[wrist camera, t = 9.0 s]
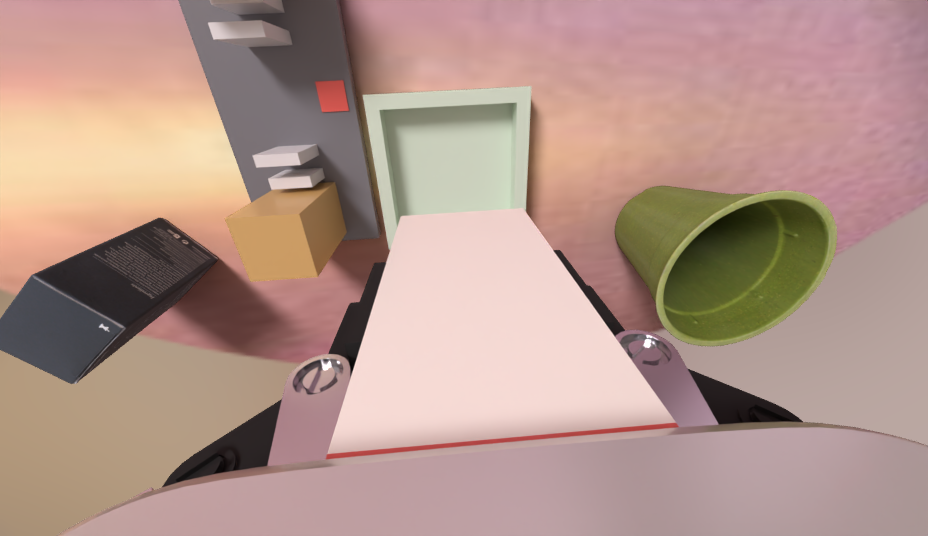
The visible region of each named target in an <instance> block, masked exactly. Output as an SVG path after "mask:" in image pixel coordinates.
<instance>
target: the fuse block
mask: <svg viewBox="0 0 928 536" xmlns="http://www.w3.org/2000/svg"><path fill="white" fill-rule="evenodd" d="M178 1H179V3H180V6H181V9H182V12H183V14H184V17H185V20H186V23H187V26H188V28H189V31H190V34H191V37H192V39H193V42H194V45H195V48H196V50H197V53H198V56H199V59H200V62H201V64H202V67H203V70H204V73H205V75H206V78H207V81H208V84H209V86H210V89H211V92H212V95H213V97H214V100H215V103H216V106H217V109H218V111H219V114H220V117H221V120H222V122H223V125H224V128H225V131H226V133H227V136H228V139H229V142H230V145H231V147H232V150H233V153H234V156H235V158H236V161H237V164H238V167H239V169H240V172H241V175H242V178H243V180H244V183H245V186H246V189H247V192H248V194H249V197H250V200H251V203H250V204H248V205H246V206H245V207H243V208H241V209H240V210H238V211H236V212H235V213H233V214H231V215H230V216H228V217H226V218H225V221H226V223H227V226H228V228H229V231H230V233H231V235H232V238H233V240H234V243H235V245H236V248H237V250H238V252H239V255H240V257H241V260H242V262H243V265H244V267H245V269H246V272H247V274H248V277H249V279H250V282H253V281H267V280H282V279H296V278H310V277H318V276H319V274H320V273H321V271H322V270H323V268H324V267H325V265H326V264H327V262H328V261H329V259H330V257H331V256H332V254H333V253H334V251H335V250H336V248H337V247H338V245H339V244H340V242H341V241H343V240H358V239H373V238H379V237H380V235H381V232H380V226H379V221H378V215H377V209H376V204H375V198H374V193H373V187H372V181H371V176H370V170H369V165H368V159H367V153H366V148H365V142H364V136H363V131H362V125H361V120H360V114H359V108H358V103H357V97H356V92H355V86H354V80H353V75H352V69H351V63H350V58H349V52H348V47H347V41H346V35H345V30H344V24H343V19H342V13H341V7H340V2H339V0H178Z"/></svg>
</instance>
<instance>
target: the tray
mask: <svg viewBox="0 0 928 536" xmlns="http://www.w3.org/2000/svg"><path fill="white" fill-rule="evenodd" d="M363 100H364V106H365V112H366V118H367V124H368V130H369V136H370V142H371V147H372V153H373V159H374V165H375V171H376V177H377V183H378V189H379V195H380V200H381V206H382V212H383V218H384V224H385V230H386V236H387V242H388V248H389V249H391V246H392V243H393V240H394V236H395V233H396V230H397V227H398V224H399V220H400V217H401V216H409V215H425V214H440V213H455V212H471V211H486V210H501V209H517V208H523V209H524V210H525V212H526V196H527V174H528V152H529V130H530V108H531V86H524V87H505V88H485V89H466V90H447V91H427V92H408V93H389V94H370V95H363Z"/></svg>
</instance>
